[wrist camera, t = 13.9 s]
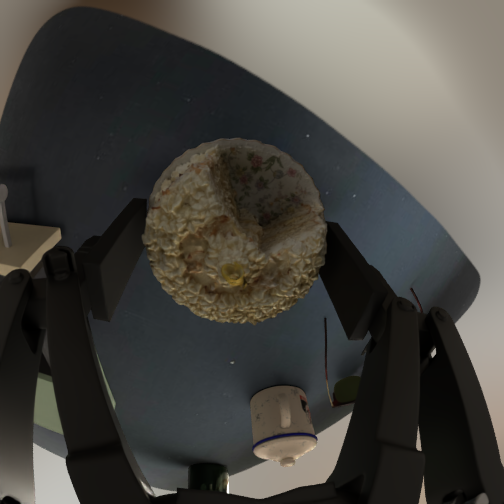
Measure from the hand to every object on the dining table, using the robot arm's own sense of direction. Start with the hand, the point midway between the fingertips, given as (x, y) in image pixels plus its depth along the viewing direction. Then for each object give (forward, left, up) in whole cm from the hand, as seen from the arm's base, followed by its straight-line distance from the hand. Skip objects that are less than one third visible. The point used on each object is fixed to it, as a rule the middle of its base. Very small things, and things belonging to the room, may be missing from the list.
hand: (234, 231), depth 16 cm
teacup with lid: (+31, +2, -9) cm, 33 cm away
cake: (0, 0, 0) cm, 0 cm away
